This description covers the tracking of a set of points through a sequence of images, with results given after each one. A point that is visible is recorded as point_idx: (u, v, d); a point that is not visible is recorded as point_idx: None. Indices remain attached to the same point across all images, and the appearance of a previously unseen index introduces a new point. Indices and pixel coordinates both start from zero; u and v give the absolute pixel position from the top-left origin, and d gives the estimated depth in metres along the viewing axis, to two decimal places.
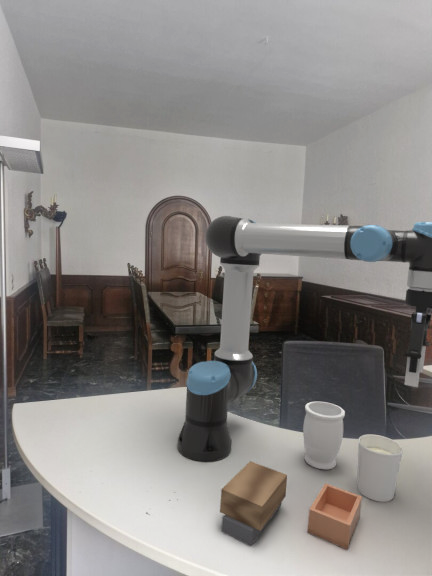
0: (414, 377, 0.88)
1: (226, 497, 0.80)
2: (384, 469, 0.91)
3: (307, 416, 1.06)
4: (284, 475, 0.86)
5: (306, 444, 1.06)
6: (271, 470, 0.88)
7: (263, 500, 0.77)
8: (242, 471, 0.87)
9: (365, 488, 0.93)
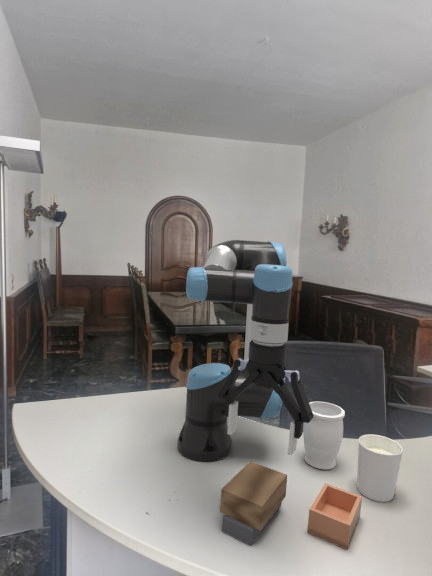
0: None
1: (226, 497, 0.80)
2: (384, 469, 0.91)
3: None
4: (284, 475, 0.86)
5: (306, 444, 1.06)
6: (271, 470, 0.88)
7: (263, 500, 0.77)
8: (242, 471, 0.87)
9: (365, 488, 0.93)
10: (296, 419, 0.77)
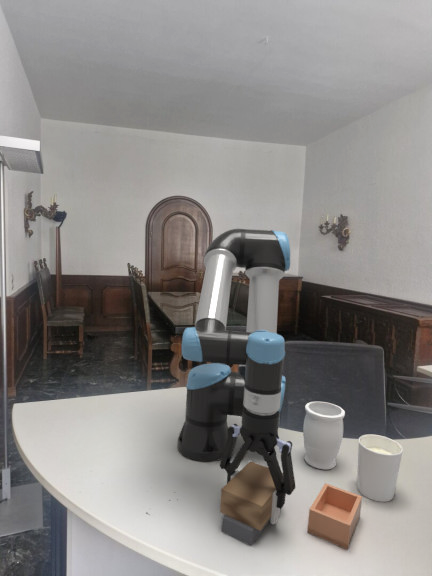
0: None
1: (226, 497, 0.80)
2: (384, 469, 0.91)
3: (307, 416, 1.06)
4: None
5: (306, 444, 1.06)
6: None
7: (263, 500, 0.77)
8: (242, 471, 0.87)
9: (365, 488, 0.93)
10: (278, 490, 0.79)
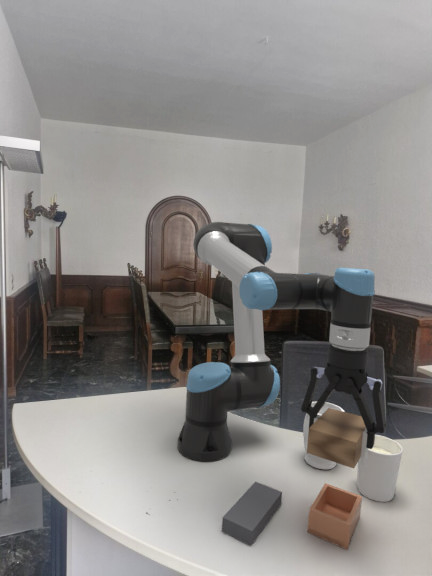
0: None
1: (314, 437, 0.77)
2: (384, 469, 0.91)
3: (307, 416, 1.06)
4: None
5: (306, 444, 1.06)
6: (353, 415, 0.85)
7: (355, 437, 0.74)
8: (324, 415, 0.84)
9: (365, 488, 0.93)
10: (369, 429, 0.76)
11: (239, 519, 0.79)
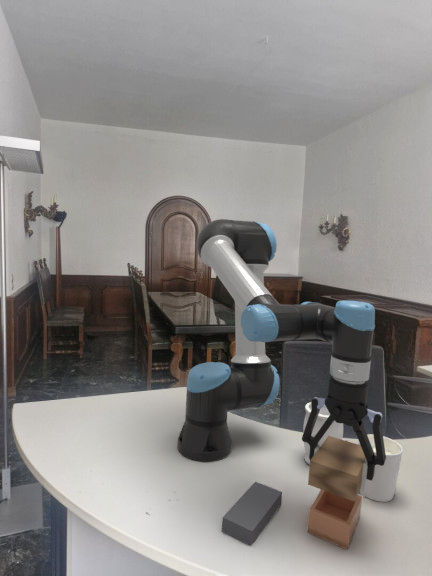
0: None
1: (315, 469, 0.78)
2: (384, 469, 0.91)
3: (307, 416, 1.06)
4: None
5: (306, 444, 1.06)
6: (353, 444, 0.86)
7: (356, 470, 0.75)
8: (324, 444, 0.85)
9: None
10: (369, 461, 0.77)
11: (239, 519, 0.79)
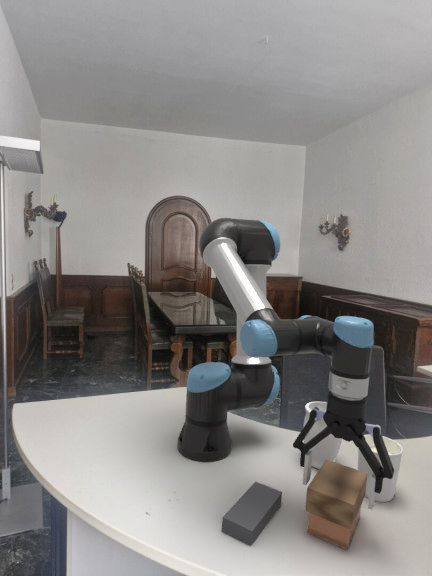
0: None
1: (312, 496, 0.78)
2: None
3: (307, 416, 1.06)
4: (364, 473, 0.85)
5: None
6: (350, 468, 0.87)
7: (353, 498, 0.76)
8: (321, 469, 0.86)
9: None
10: (377, 474, 0.77)
11: (239, 519, 0.79)
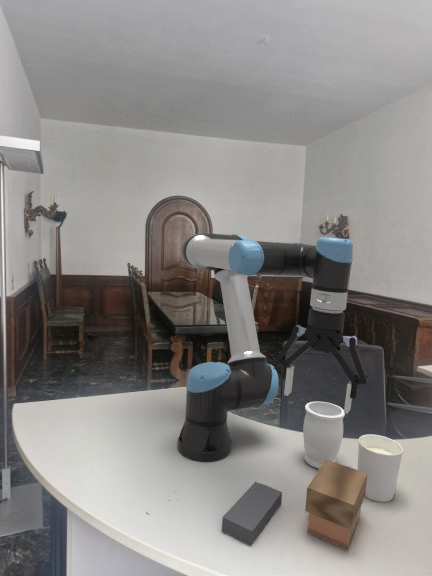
0: None
1: (312, 496, 0.78)
2: (384, 469, 0.91)
3: (307, 416, 1.06)
4: (364, 473, 0.85)
5: (306, 444, 1.06)
6: (350, 468, 0.87)
7: (353, 498, 0.76)
8: (321, 469, 0.86)
9: None
10: (353, 380, 0.83)
11: (239, 519, 0.79)
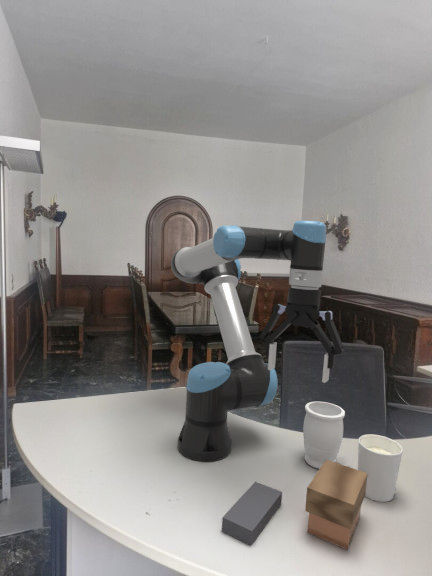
0: None
1: (312, 496, 0.78)
2: (384, 469, 0.91)
3: (307, 416, 1.06)
4: (364, 473, 0.85)
5: (306, 444, 1.06)
6: (350, 468, 0.87)
7: (353, 498, 0.76)
8: (321, 469, 0.86)
9: None
10: (329, 351, 0.90)
11: (239, 519, 0.79)
